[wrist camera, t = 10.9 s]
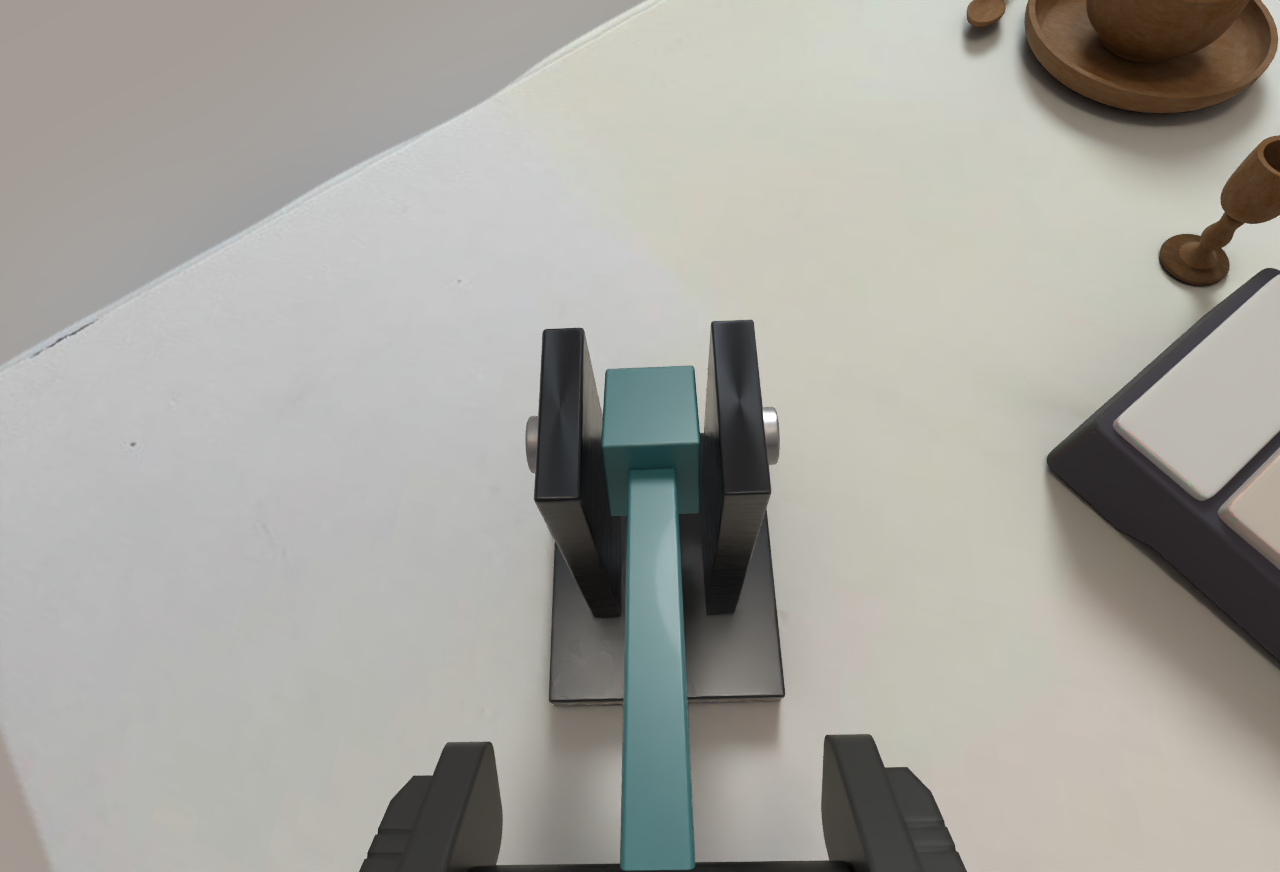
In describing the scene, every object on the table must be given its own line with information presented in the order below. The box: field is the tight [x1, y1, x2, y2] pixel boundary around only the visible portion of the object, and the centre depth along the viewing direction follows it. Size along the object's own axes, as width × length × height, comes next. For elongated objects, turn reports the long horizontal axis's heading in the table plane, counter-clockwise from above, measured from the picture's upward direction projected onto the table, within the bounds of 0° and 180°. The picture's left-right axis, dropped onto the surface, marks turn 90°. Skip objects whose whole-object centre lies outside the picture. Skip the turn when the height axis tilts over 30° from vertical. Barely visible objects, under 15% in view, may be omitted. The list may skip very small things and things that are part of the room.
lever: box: [469, 366, 853, 872], centre depth 14 cm, size 12×6×2 cm, turn 0°
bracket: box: [526, 320, 785, 706], centre depth 22 cm, size 10×8×13 cm
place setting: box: [967, 0, 1280, 285], centre depth 35 cm, size 18×20×6 cm
